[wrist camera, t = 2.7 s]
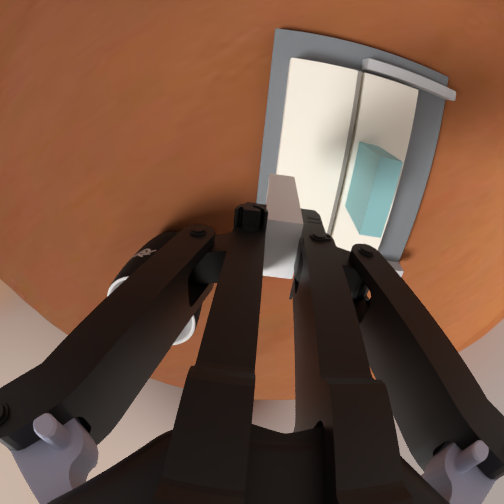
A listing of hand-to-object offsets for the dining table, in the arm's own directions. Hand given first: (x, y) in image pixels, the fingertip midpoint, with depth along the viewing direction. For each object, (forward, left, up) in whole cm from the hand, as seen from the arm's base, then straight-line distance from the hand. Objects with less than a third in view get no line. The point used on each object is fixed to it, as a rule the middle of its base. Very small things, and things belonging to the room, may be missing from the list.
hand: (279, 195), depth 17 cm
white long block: (0, +8, -9) cm, 12 cm away
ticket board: (0, +7, -10) cm, 12 cm away
